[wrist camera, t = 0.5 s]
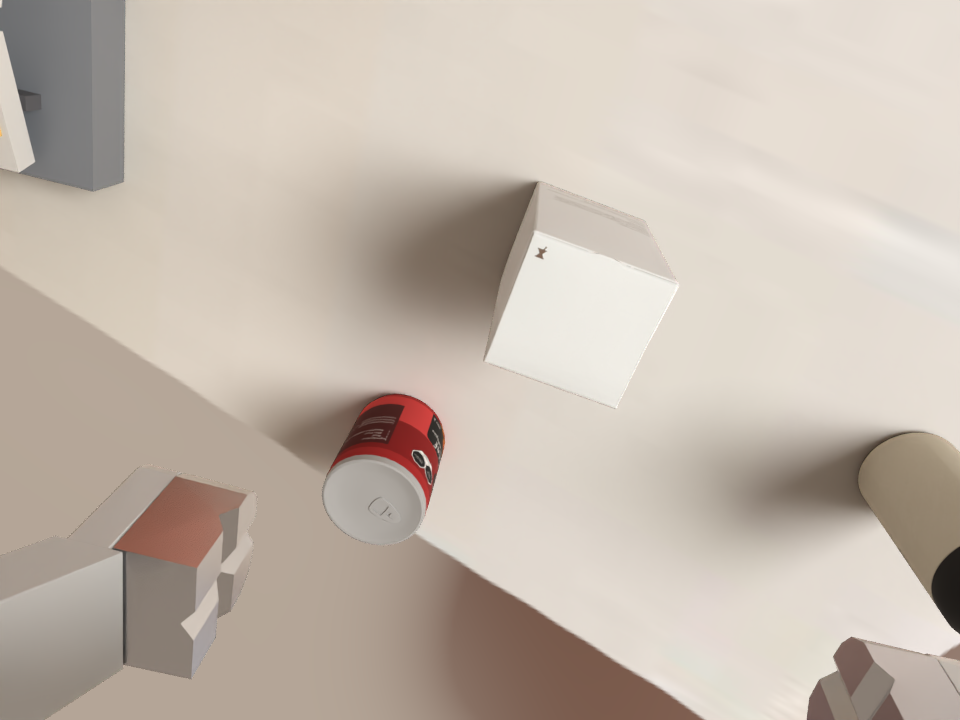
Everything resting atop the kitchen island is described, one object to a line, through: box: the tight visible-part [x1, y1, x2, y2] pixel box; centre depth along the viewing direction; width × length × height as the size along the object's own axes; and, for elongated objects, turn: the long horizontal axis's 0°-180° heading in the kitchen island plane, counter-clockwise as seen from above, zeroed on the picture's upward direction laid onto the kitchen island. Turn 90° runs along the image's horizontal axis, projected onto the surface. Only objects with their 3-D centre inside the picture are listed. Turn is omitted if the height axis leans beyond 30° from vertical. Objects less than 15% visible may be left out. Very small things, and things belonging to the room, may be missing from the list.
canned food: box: [322, 394, 445, 545], centre depth 57 cm, size 8×8×11 cm
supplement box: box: [483, 182, 679, 409], centre depth 47 cm, size 9×9×15 cm
